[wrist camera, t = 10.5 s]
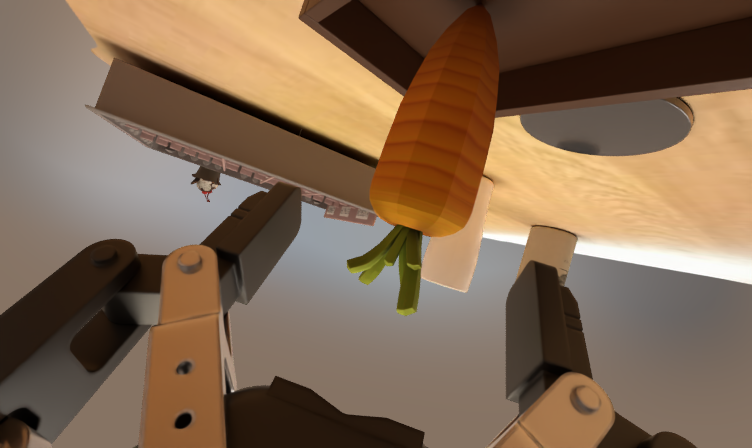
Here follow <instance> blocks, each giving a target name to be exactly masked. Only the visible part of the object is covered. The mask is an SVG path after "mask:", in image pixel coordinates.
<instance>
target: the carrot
mask: <svg viewBox="0 0 752 448" xmlns="http://www.w3.org/2000/svg"><path fill="white" fill-rule="evenodd" d="M498 81H499V59H498V48H497V40H496V36H495V32H494V27H493V23H492V19H491V15H490V14H489V12H488V11H487V10H486V8H485V7H484V6H483V5H482V4H479V5H476V6H474V7H471V8H468V9H467V10H466V11H465V12H464V13H463V14H462V15H461V16H459V17H458V18H457V19H456V20H455V21H454V22H453V23H452V24H451V25H450V26H449V27H448V28H447V29H446V30H445V32H444V33H443V34H442V35H441V36H440V38H439V39H438V40H437V41H436V43H435V44H434V45H433V46H432V48H431V49H430V50H429V52H428V54H427V56H426V57H425V59H424V61H423V63H422V64H421V66H420V68H419V70H418V71H417V73H416V75H415V77H414V79H413V80H412V82H411V84H410V86H409V88H408V90H407V92H406V94H405V96H404V98H403V100H402V102H401V104H400V106H399V109H398V111H397V114H396V116H395V119H394V122H393V124H392V127H391V129H390V132H389V134H388V137H387V140H386V142H385V145H384V148H383V151H382V153H381V156H380V159H379V162H378V165H377V167H376V170H375V173H374V176H373V179H372V182H371V186H370V197H369V199H370V202H371V205H372V207H373V209H374V211H375V213H376V214H377V215H378V216H379V217H380V218H381V219H382V220H384V221H385V222H387V223H389V224H391V225H394V226H395V227H394V229H393V230H392V231H391V232H390V233H389V234H388V235H387V236H386V237H385V238H384V239H383V241H381V242H380V244H378V245H377V246H375V247H374V248H373V249H372V250H370V251H369V252H367V253H366V254H364V255H363V256H360V257H356V258H353V259H349V260H347V268H348V270H349V271H350V272H351V273H357V272H361V271H363V272H362V274H361V275H360V276H359V280H360V281H361V282H362V283H364V284H367V285H368V284H370V283H371V282H372V281H373V280H374V279H375V278H376V277H377V276H378V275H379V274H380V272H381V271H382V269H383V268H384V266H385V265H386V266H393V265H394V263H395V261H396V259H397V257H398V255H399V275H400V284H401V287H400V291H399V297H398V303H397V312H398V313H399V314H402V315H405V316H407V315H409V314H412V313H415V312H416V311H417V304H418V299H419V290H420V279H421V268H422V263H421V245H422V235H425V236H429V237H444V236H448V235H452V234H455V233H456V232H458V231H460V230H462V229H463V228H464V227H465V225H466V224H467V222H468V221H469V219H470V216H471V214H472V211H473V207H474V204H475V200H476V196H477V193H478V189H479V186H480V182H481V178H482V175H483V171H484V167H485V163H486V159H487V155H488V150H489V146H490V142H491V138H492V134H493V128H494V120H495V112H496V104H497V94H498Z"/></svg>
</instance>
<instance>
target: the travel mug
mask: <svg viewBox="0 0 752 448" xmlns="http://www.w3.org/2000/svg"><path fill="white" fill-rule="evenodd" d="M576 242H577V238H576V237H575V236H574V235H573V234H571V233H568V232H566V231H563V230H559V229H555V228H551V227H545V226H535V227H532V228H531V230H530V233H529V237H528V240H527V244H526V247H525V250H524V254H523V258H522V261H521V264H520V267H519V271H518V274H517V278H518V277H519V275H520V274H521V272H522V271H523V269H524V268H525V266H526V265H527V263H528V262H529V261H530V260H534V261H538V262H541V263H544V264H547V265H551V266H554V267H556V268H557V271H558V277H559V283H560V285H561V286H564V284H565V281H566V277H567V274H568V270H569V267H570V263H571V259H572V256H573V253H574V249H575V246H576ZM517 278H516V280H517ZM515 282H516V281H515Z"/></svg>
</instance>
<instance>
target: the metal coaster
mask: <svg viewBox="0 0 752 448" xmlns="http://www.w3.org/2000/svg"><path fill="white" fill-rule="evenodd" d="M520 121H521V124H522V126H523V128H524V129H525V130H526V131H527V132H528V133H529V134H530V135H531V136H533V137H534V138H536V139H538V140H540V141H542V142H544V143H546V144H548V145H551V146H554V147H556V148H560V149H563V150H567V151H571V152H576V153H582V154H589V155H599V156H630V155H640V154H647V153H652V152H656V151H660V150H664V149H666V148H669V147H672V146H674V145H676V144H678V143H679V142H681V141H682V140H683V139H684V138H685V137H686V136H687V135H688V134H689V132H690V131H691V127H692V123H693V115H692V112H691V110H690V108H689V107H688V106H687V105H686V104H685V103H684V102H683V101H681V100H680V99H678V98H677V97H674V98H665V99H657V100H648V101H639V102H630V103H621V104H612V105H603V106H595V107H586V108H577V109H568V110H559V111H550V112H542V113H533V114H524V115H520Z"/></svg>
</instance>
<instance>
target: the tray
mask: <svg viewBox="0 0 752 448" xmlns="http://www.w3.org/2000/svg"><path fill="white" fill-rule="evenodd" d="M479 4H482V5H483V6H484V7H485V8H486V10H487V11H488V12H489V14H490V15H491V19H492V23H493V27H494V32H495V36H496V40H497V48H498V59H499V81H498V94H497V104H496V112H495V118H497V117H506V116H515V115H524V114H533V113H542V112H550V111H559V110H568V109H577V108H586V107H595V106H603V105H612V104H621V103H630V102H639V101H648V100H657V99H665V98H674V97H683V96H692V95H701V94H710V93H718V92H727V91H736V90H745V89H752V0H304V3H303V6H302V9H301V11H300V14H299V19H300V20H301V21H302V22H304V23H305V24H307V25H308V26H309V27H311V28H312V29H313V30H315V31H316V32H317V33H319V34H320V35H321V36H323V37H324V38H326V39H327V40H328V41H330V42H331V43H332V44H334V45H335V46H336V47H338V48H339V49H340V50H342V51H343V52H345V53H346V54H347V55H349V56H350V57H351V58H353V59H354V60H355V61H357V62H358V63H359V64H361V65H362V66H363V67H365V68H366V69H368V70H369V71H370V72H372V73H373V74H374V75H376V76H377V77H378V78H380V79H381V80H382V81H384V82H385V83H387V84H388V85H389V86H391V87H392V88H393V89H395V90H396V91H397V92H399V93H400V94H401V95H403V96H405V94H406V92H407V90H408V88H409V86H410V84H411V82H412V80H413V79H414V77H415V75H416V73H417V71H418V70H419V68H420V66H421V64H422V63H423V61H424V59H425V57H426V56H427V54H428V52H429V50H430V49H431V48H432V46H433V45H434V44H435V43H436V41H437V40H438V39H439V38H440V36H441V35H442V34H443V33H444V32H445V30H446V29H447V28H448V27H449V26H450V25H451V24H452V23H453V22H454V21H455V20H456V19H457V18H458V17H459V16H461V15H462V14H463V13H464V12H465V11H466V10H467V9H468V8H471V7H474V6H476V5H479Z"/></svg>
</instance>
